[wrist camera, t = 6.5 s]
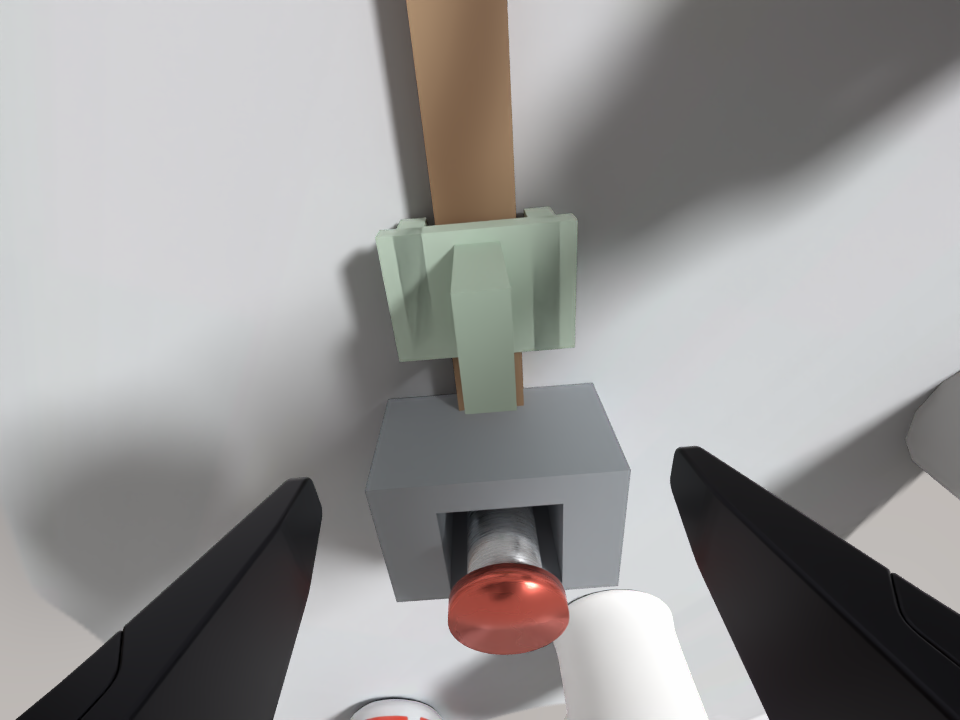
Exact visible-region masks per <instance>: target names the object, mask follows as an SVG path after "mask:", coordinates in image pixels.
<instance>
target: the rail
mask: <svg viewBox="0 0 960 720" xmlns="http://www.w3.org/2000/svg"><path fill="white" fill-rule="evenodd" d="M406 3H407V11H408V19H409V27H410V34H411V42H412V50H413V58H414V65H415V73H416V81H417V89H418V96H419V104H420V112H421V120H422V127H423V135H424V143H425V151H426V158H427V166H428V174H429V182H430V189H431V197H432V205H433V213H434V220H435V225H445V224H457V223H468V222H479V221H490V220H502V219H513V218H516V204H515V180H514V156H513V132H512V108H511V84H510V60H509V36H508V12H507V0H406ZM452 360H453V368H454V375H455V383H456V391H457V399H458V406H459V411H463V410H465V408H464V400H463V392H462V384H461V375H460V367H459V359H458V357H455V358H452ZM514 363H515V382H516V402H517V406H524V396H523V372H522V352H515V353H514Z"/></svg>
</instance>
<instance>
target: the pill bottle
mask: <svg viewBox="0 0 960 720" xmlns="http://www.w3.org/2000/svg"><path fill="white" fill-rule="evenodd" d="M350 720H442V718H441V716H440V715H439V714H438V713H437V712H436V711H435V710H434V709H433V708H432V707H430V706H428V705H426V704H423V703H420V702H416V701H411V700H404V699H388V700H380V701H375V702H372V703H369V704H367V705H365V706H364V707H362V708H361V709H359V710H358V711H357V712H356V713H355V714H354V715H353V716H352V718H351V719H350Z"/></svg>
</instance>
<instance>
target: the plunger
mask: <svg viewBox="0 0 960 720" xmlns="http://www.w3.org/2000/svg"><path fill="white" fill-rule="evenodd" d="M568 623H569V609H568V604H567V599H566V594H565V590H564V587H563V585H562V583H561V582H560V581H559V579H558V578H557V577H555V576H554V575H553V574H551V573H550V572H548V571H546V570H544V569H542V563H541V557H540V551H539V544H538V538H537V532H536V526H535V519H534V513H533V507H532V506H527V507H514V508H501V509H488V510H475V511H467V575H465V576H464V577H462V578H461V579H460V580H459V581H458V582H457V583H456V584H455V585H454V586H453V588H452V590H451V592H450V595H449V606H448V626H449V629H450V632H451V633H452V635H453V636H454V637H455V638H456V639H457V640H458V641H459V642H460V643H462V644H463V645H465V646H467V647H469V648H471V649H474V650H476V651H480V652H484V653H489V654H500V655H509V654H520V653H525V652H529V651H533V650H536V649H539V648H542V647H544V646H546V645H548V644H550V643H551V642H553V641H554V640H556V639H557V638H558V637H559V636H560V635H561V634H562V633H563V632H564V631H565V629H566V628H567V626H568Z"/></svg>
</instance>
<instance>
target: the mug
mask: <svg viewBox="0 0 960 720" xmlns="http://www.w3.org/2000/svg"><path fill="white" fill-rule="evenodd" d="M568 609H569V623H568V626H567V628H566V629H565V631H564V632H563V633H562V634H561V635H560V636H559V637H558V638H557V639H556V640H554V641H553V644H554V646H555V649H556V652H557V656H558V661H559V666H560V671H561V677H562V683H563V690H564V696H565V702H566V708H567V714H566V717H565V720H708V717H707V714H706V712H705V709H704V707H703V704H702V702H701V699H700V696H699V694H698V691H697V689H696V686H695V683H694V681H693V678H692V676H691V673H690V670H689V668H688V665H687V663H686V660H685V657H684V655H683V652H682V649H681V647H680V644H679V641H678V638H677V635H676V632H675V629H674V622H673V617H672V613H671V611H670V609H669V608H668V606H667V605H666V604H665V603H664V602H663V601H662V600H660V599H659V598H657V597H655V596H653V595H651V594H648V593H645V592H641V591H635V590H608V591H602V592H597V593H593V594H590V595H587V596H585V597H582V598H580V599H578V600H576V601H574V602H572V603H571V604H569V605H568Z"/></svg>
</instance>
